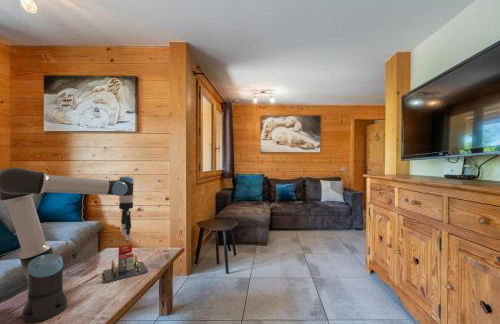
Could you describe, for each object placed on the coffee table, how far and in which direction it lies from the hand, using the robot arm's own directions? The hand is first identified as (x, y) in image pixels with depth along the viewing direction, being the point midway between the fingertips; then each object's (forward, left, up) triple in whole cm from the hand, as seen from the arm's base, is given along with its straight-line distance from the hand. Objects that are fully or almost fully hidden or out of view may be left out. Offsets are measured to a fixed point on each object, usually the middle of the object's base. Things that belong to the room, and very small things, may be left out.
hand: (125, 237), depth 143 cm
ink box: (0, 0, -20) cm, 20 cm away
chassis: (0, 0, -21) cm, 21 cm away
